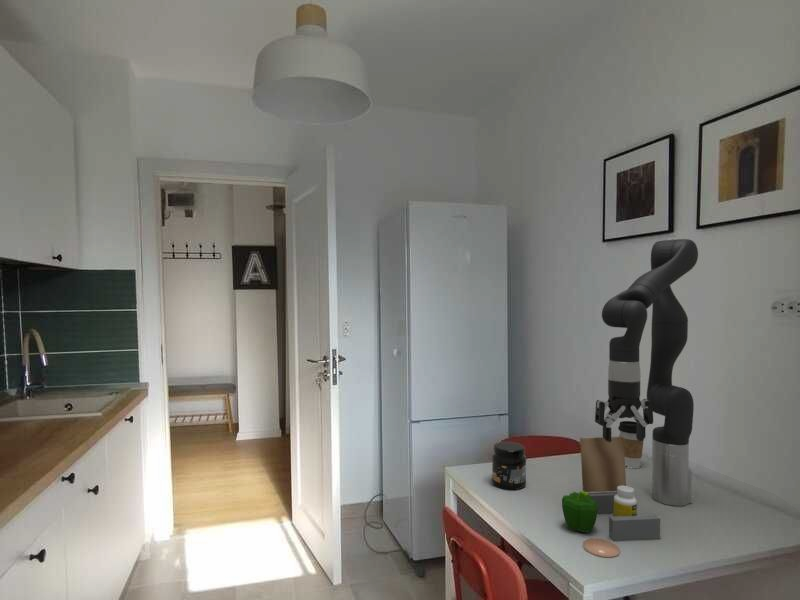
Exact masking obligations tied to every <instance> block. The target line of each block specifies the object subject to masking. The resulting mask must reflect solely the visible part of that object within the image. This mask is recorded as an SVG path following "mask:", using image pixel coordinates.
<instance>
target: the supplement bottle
mask: <svg viewBox="0 0 800 600" xmlns="http://www.w3.org/2000/svg"><path fill="white" fill-rule="evenodd" d="M616 492H617V493H618V494H616V495H615V496H614V513H613V517H616V516H638V501H637V499H636V497H635V489H634V488H633V487H631V486H627V485H626V486H618V487H617V491H616Z"/></svg>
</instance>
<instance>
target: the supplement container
mask: <svg viewBox="0 0 800 600" xmlns="http://www.w3.org/2000/svg"><path fill="white" fill-rule="evenodd" d="M525 449H526V448H525V446H524V445H523V444H522V443H519V442H514V441H499V442H496V443H495V444H493V454H492V455H491V460H492V464H491V465H492V467H491V470H492V472H491V474H492V476H491V481H492V483H493V485H495V486H496V487H498V488H500V489H503V490H512V491H513V490H520V489H523V488H524V487H525V486H526V484H527V456H526V455H525V454H526V451H525Z"/></svg>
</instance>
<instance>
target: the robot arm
mask: <svg viewBox="0 0 800 600" xmlns="http://www.w3.org/2000/svg"><path fill="white" fill-rule="evenodd" d="M697 246H698V245H697V244H696V242H695V241H694V240H691V239H689V238H687V239H686V238H680V239H679V238H678V239H669V240H667V239H664V240H657V241H655V242H654V244H653V245H652V248H651V250H650V251H651V252H650V270H649V271H646V272H645V273H643V274H642V275H640V276H638V277H637V278H636V279H635V280H634V282H633V283H631V285H629V287H628V288H627V289H625V290H623V291H621V292H620V293H618V294H616V295H615V296H613V297H611V298H610V299H609V300H608V301H606V302H605V304H604V305H603V307H602V309H601V319H602V321H603V323H604V324H605V325H606V326H608V327H610V328H620V329H621V328H622V329H626V331H625V332H624V335H621V336H616V337H615V336H614V337H612V338H611V339H610V340H609V343H608V344H609V345H608V346H609V348H608V349H609V351H608V354H609V355H608V366H607V367H608V368H607V370H608V371H607V372H608V373H607V382H608V383H607V394H608V400H607V401H605V400H600V399H597V400H596V401H595V413H594V422H595V423H596V424H597V425H599V426H602V437H603V438H604V439H605V440H606V441H607V442H611V437H612V427H611V426H612V425H613V424H614V423H615V422H617V421H618V419H625V418H627V419H633V420H634V422H637V423H638V425H636V438H637V440H639V441H643V442H644V440H645V439H646V427H647V425H653V424H654V413H655V414H657V415H661V416H663V417H664V421H663V422H664V423H663V426H656V427H654V428H653V429H652V435H651V436H652V439H651V440H652V441H651V442H652V445H651V446H652V454H651V459H652V460H651V498H652V499H653V500H655V501H657V502H658V503H661V504H664V505H668V506H675V507H682V506H686V505H688V504H692V501H693V499H692V497H693V496H692V491H693V490H692V489H693V485H692V484H693V483H692V482H693V470H692V469H691V468H689V464H690V463H689V462H690V460H689V458H690V457H689V452H690V451H689V449H690V448H689V446H690V445H689V444H690V436H691V435H692V432H693V423H694V411H695V410H694V409H695V408H694V407H695V406H694V405H695V403H694V399H693V395H692V393H691V392H690V391H689V390H688V389H687V388H685V387H681V386H677V385H673V382H672V381H673V370H674V369H673V368H674V366H675V363H676V361H677V360H678V358H679V356H680V355H681V353H682V351H684V348H685V347H686V344H687V342H688V336H689V335H688V333H689V330H688V329H689V325H688V324H689V320H688V319H689V318H688V315H687V313H686V310H685V309H684V307H683V306H682V304H681V303H680V301H679V300H678V298H677V297H676V295H675V294H674V292H673V290H672V286H671V285H672V284H673V283H675V282H676V281H678V280H679V279H681V278H682V277H683V276H684V275H686V274H688V273H689V272H690V271H691V270H692V269H693V268H694V267H695V266H696V264H697V263H698V262H697V261H698V258H699V250H698V247H697ZM651 306H652V312H651V347H650V348H651V349H650V364H649V374H648V380H647V388H646V389H647V390H646V398H643V399H642V400H641V399H640V397H641V366H640V346H641V345H640V344H641V341H642V336H643V335H644V334H643V333H644V330H645V327H646V323H647V321H648V308H650V307H651ZM607 408H608V411H607V412H606V414H605V411H606V410H607ZM640 408H642V414H641V412H639V409H640Z"/></svg>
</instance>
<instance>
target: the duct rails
mask: <svg viewBox="0 0 800 600" xmlns="http://www.w3.org/2000/svg"><path fill="white" fill-rule="evenodd" d="M587 493H588V494H589V495H590V497H591V498H592V500H595V502H596V504H597V506H598V512H597V515H600V514H601V515H605V514H607V515H609V514H614V496H615V495H616V494H618V493H617V491H605V492H587ZM608 538H609V539H611V542H621V541H641V540H644V541H645V540H661V518H660V517H659V516H657V515H656V514H649V515H647V514H646V515H637V516H616V517H614V516H608Z"/></svg>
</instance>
